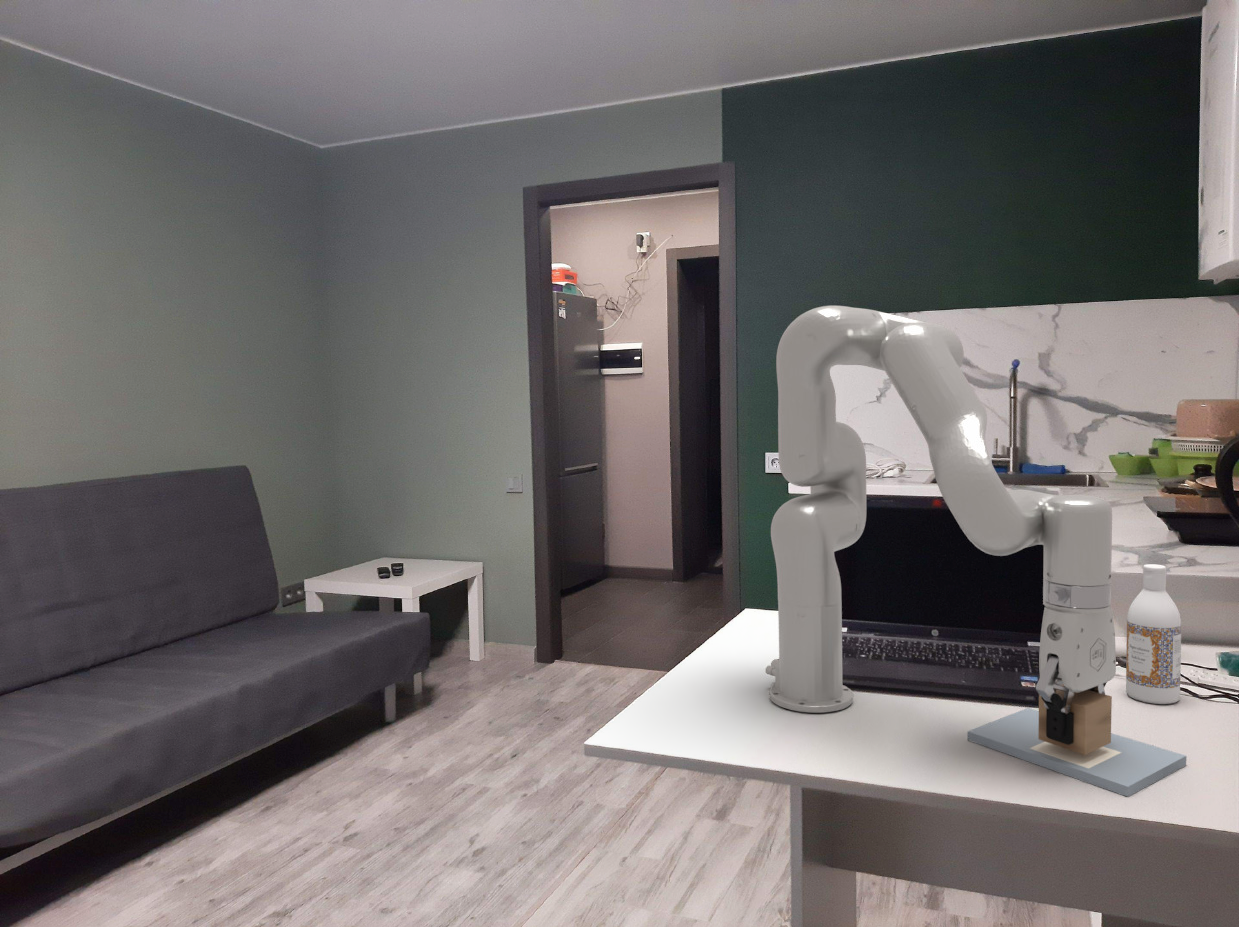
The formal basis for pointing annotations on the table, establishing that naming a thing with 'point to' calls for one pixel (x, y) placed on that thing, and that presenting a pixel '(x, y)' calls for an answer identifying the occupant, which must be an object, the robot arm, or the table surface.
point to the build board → (1107, 767)
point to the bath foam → (1153, 642)
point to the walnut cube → (1083, 721)
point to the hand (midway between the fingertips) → (1074, 732)
